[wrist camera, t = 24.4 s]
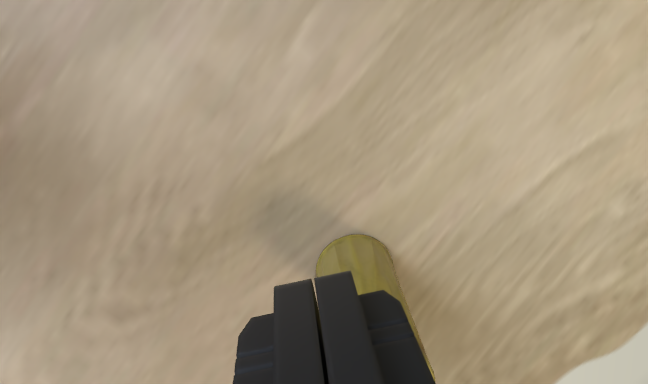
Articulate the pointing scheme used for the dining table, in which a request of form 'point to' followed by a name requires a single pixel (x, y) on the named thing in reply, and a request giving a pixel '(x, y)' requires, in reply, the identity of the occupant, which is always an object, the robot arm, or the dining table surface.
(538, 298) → the dining table surface
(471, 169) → the dining table surface
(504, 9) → the dining table surface
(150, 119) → the dining table surface
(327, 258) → the vase
